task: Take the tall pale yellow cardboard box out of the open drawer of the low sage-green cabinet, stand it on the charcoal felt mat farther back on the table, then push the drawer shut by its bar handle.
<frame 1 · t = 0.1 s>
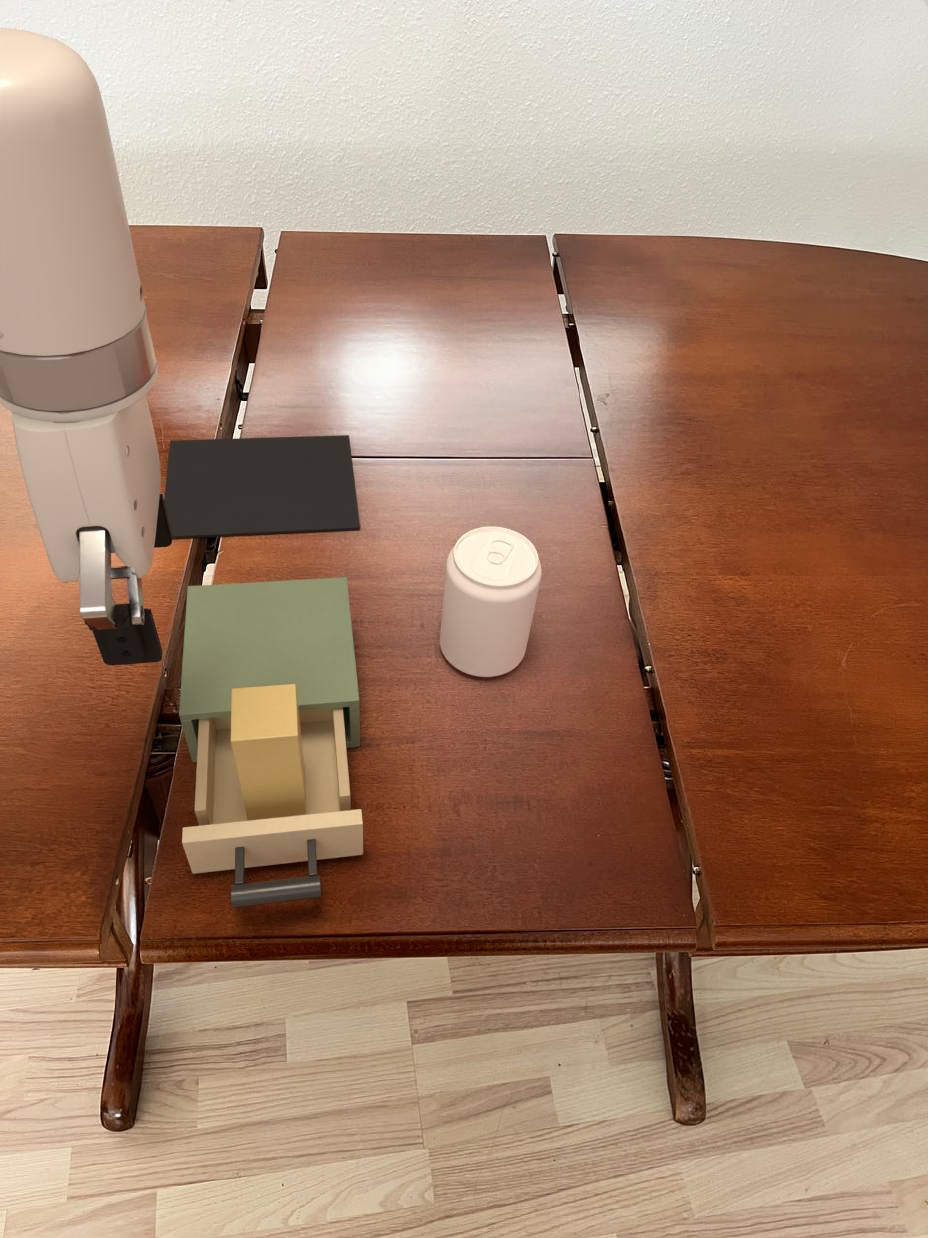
hand: (141, 598, 53), 21 cm above the table, tool pointing down, fingers open, 9 cm apart
beverage can: (482, 648, 80), on the table
mat: (261, 485, 93), on the table
box: (276, 791, 66), point 2 cm above the table, touching drawer
cabinet: (276, 689, 75), on the table
drawer: (275, 798, 64), point 3 cm above the table, slide at 9.0 cm, touching box
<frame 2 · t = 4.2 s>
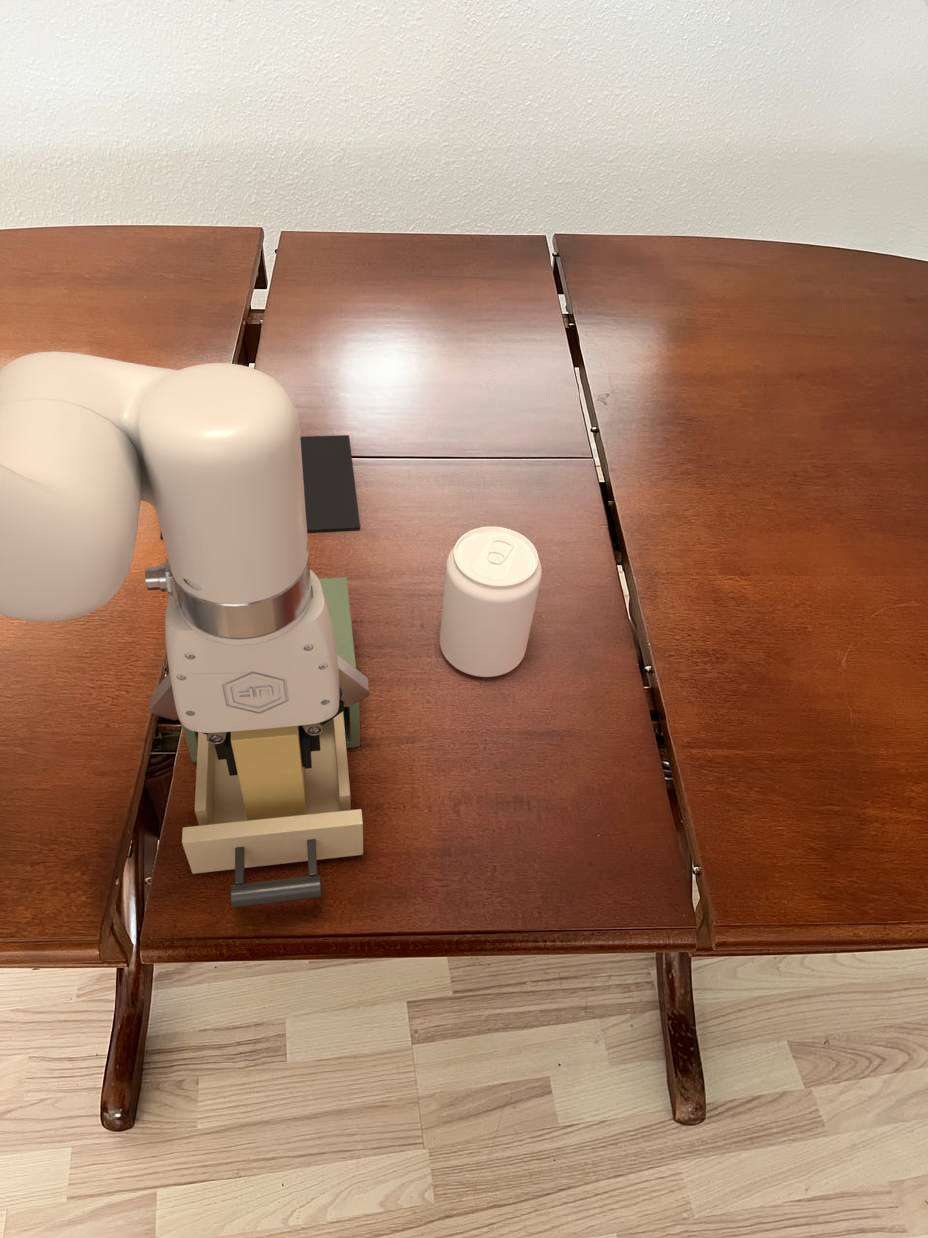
hand: (270, 753, 62), 7 cm above the table, tool pointing down, fingers closed on box, 4 cm apart
box: (276, 791, 66), point 2 cm above the table, touching drawer, gripper
everything else where it was.
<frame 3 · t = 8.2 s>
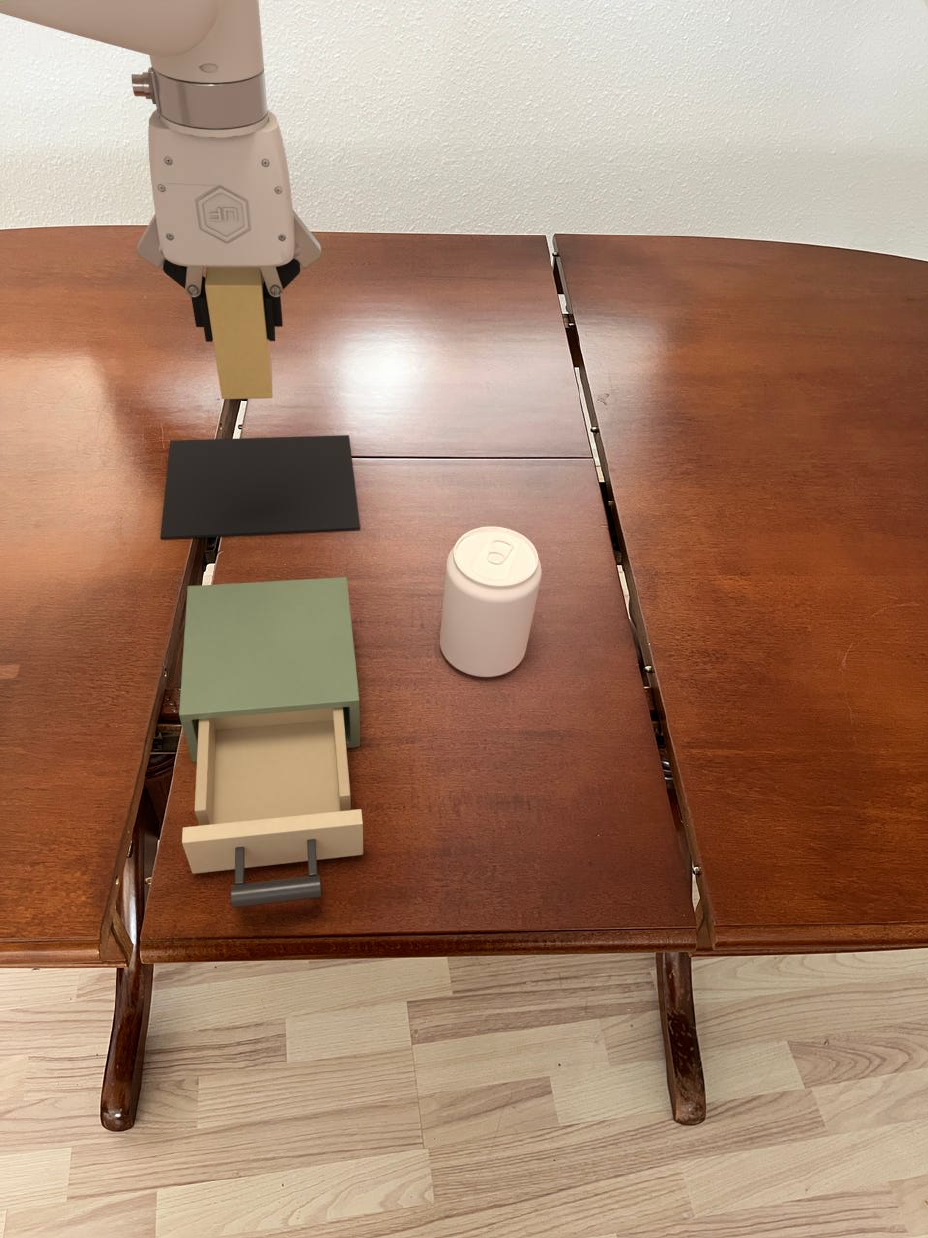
hand: (241, 331, 74), 22 cm above the table, tool pointing down, fingers closed on box, 4 cm apart
box: (247, 385, 78), point 16 cm above the table, touching gripper
drawer: (275, 798, 64), point 3 cm above the table, slide at 9.0 cm
everything else where it was.
when the fingers open (6 cm above the table, at t = 12.6 s): box stays where it is, resting on mat.
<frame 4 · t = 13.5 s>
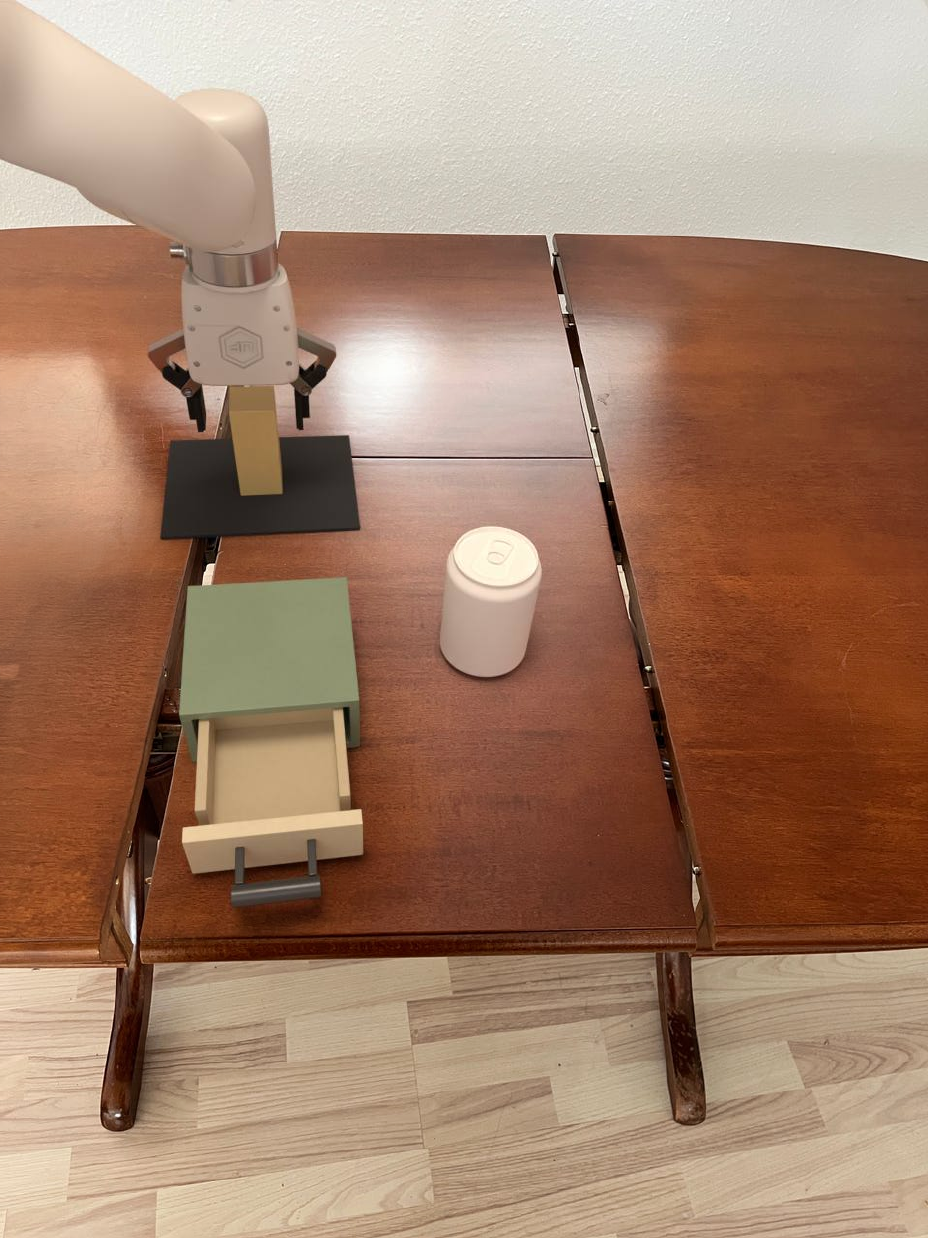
hand: (251, 423, 87), 8 cm above the table, tool pointing down, fingers open, 9 cm apart
box: (261, 482, 93), resting on mat
everything else where it was.
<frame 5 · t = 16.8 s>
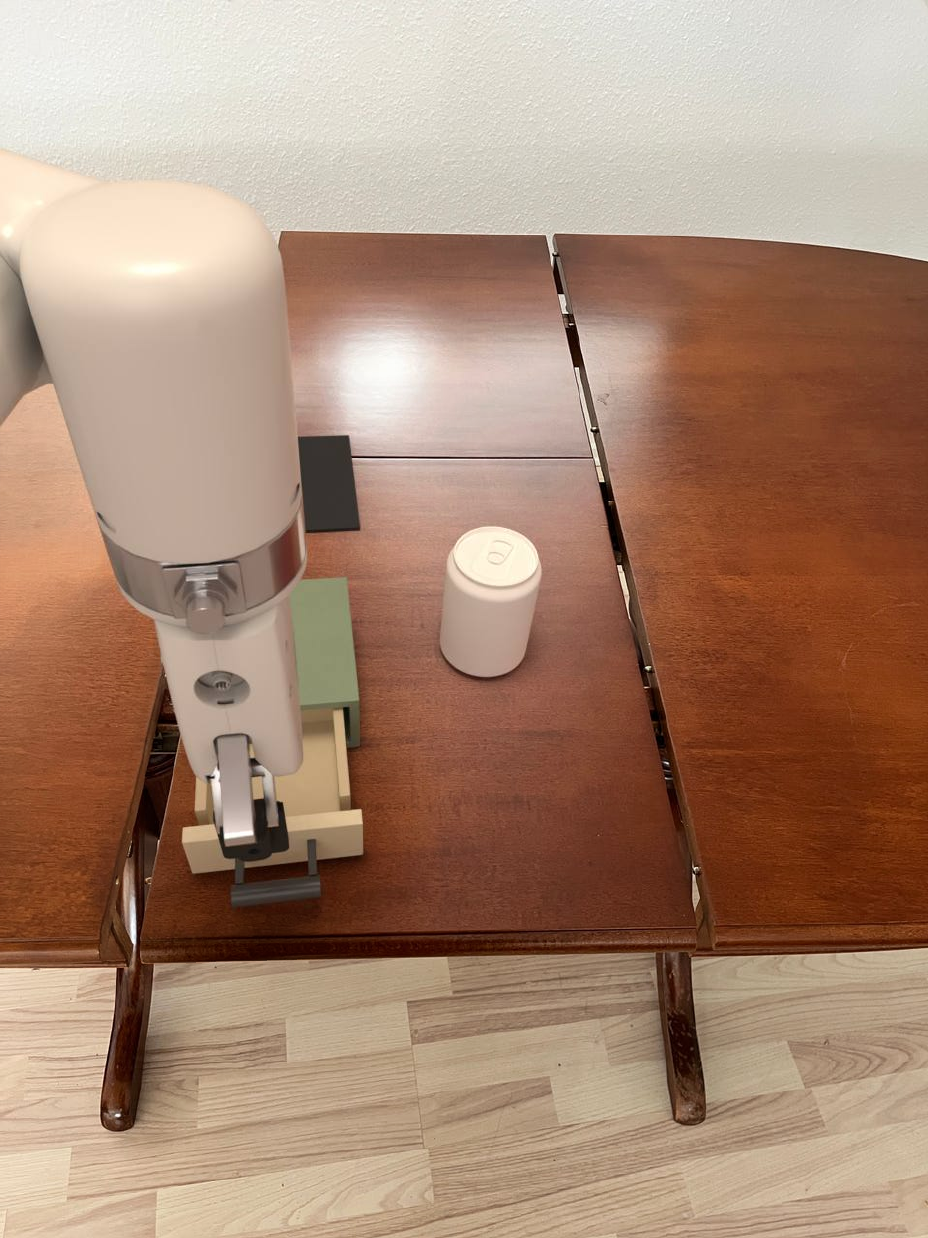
hand: (254, 767, 46), 21 cm above the table, tool pointing down, fingers open, 9 cm apart
nothing on the table moved.
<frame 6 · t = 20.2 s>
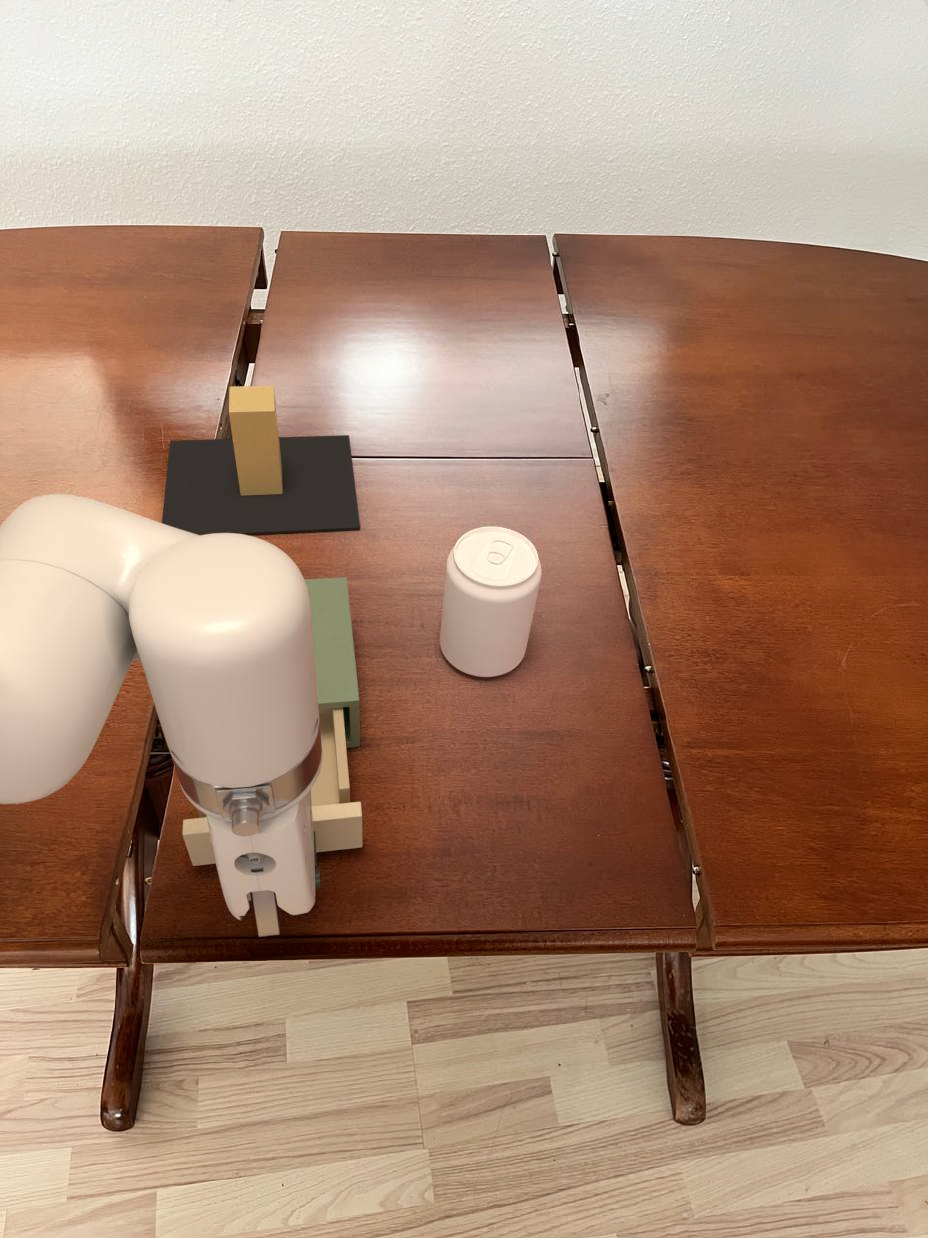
hand: (277, 895, 58), 5 cm above the table, tool pointing down, fingers closed
drawer: (275, 791, 65), point 3 cm above the table, slide at 8.4 cm, touching gripper
everything else where it was.
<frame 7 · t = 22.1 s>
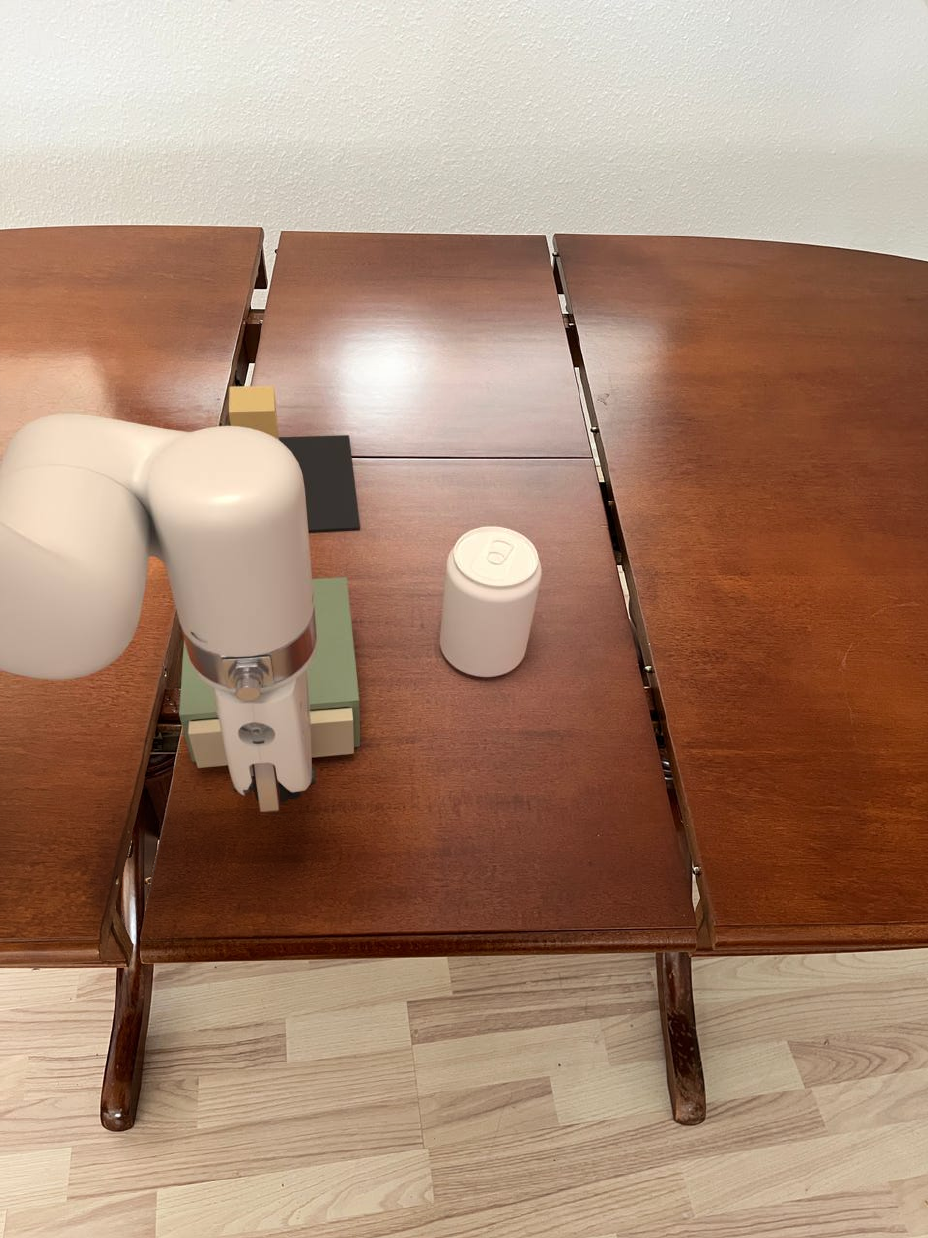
hand: (278, 790, 64), 4 cm above the table, tool pointing down, fingers closed
drawer: (273, 702, 70), point 3 cm above the table, slide at 0.0 cm, touching cabinet, gripper
everything else where it was.
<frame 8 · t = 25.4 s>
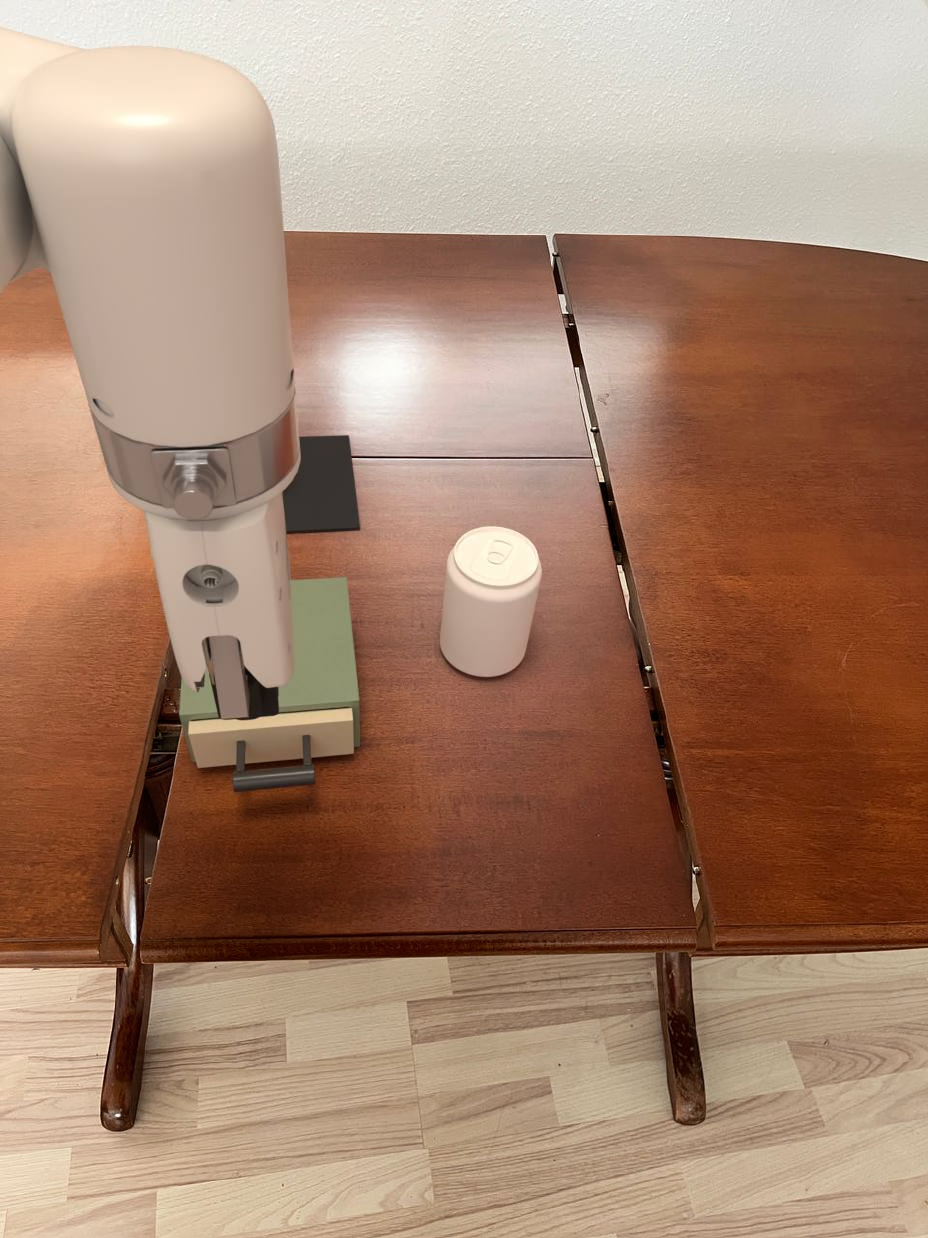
hand: (249, 705, 47), 22 cm above the table, tool pointing down, fingers closed
drawer: (273, 702, 70), point 3 cm above the table, slide at 0.0 cm, touching cabinet
everything else where it was.
at the end: box inside the target area on the mat (0.0 cm from its centre), point 0.4 cm above the mat's base; box tilted 0°; drawer slide at 0.0 cm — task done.
